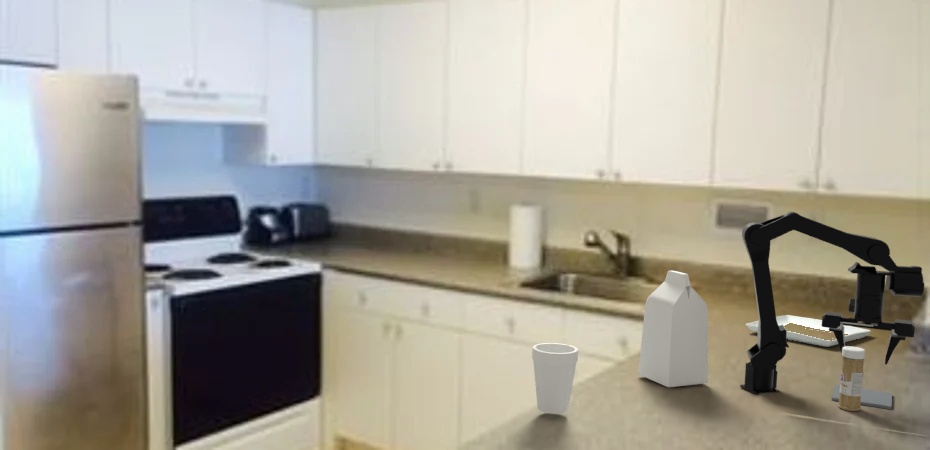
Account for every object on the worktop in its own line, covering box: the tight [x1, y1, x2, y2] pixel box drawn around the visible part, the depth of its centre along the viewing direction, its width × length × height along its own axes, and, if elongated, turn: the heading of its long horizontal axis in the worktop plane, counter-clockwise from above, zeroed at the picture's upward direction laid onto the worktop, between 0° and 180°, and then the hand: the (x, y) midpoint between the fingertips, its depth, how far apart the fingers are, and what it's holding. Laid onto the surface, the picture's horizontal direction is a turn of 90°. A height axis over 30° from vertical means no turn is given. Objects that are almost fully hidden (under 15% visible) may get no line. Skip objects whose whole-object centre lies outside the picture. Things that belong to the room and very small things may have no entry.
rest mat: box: [831, 384, 893, 410], centre depth 188 cm, size 12×12×1 cm
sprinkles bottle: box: [838, 345, 866, 412], centre depth 179 cm, size 5×5×14 cm
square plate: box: [745, 314, 872, 348], centre depth 252 cm, size 27×27×4 cm
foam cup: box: [531, 342, 579, 415], centre depth 173 cm, size 10×9×13 cm
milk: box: [637, 270, 709, 388], centre depth 199 cm, size 12×12×26 cm
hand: (864, 361), depth 188 cm, fingers open, 8 cm apart
